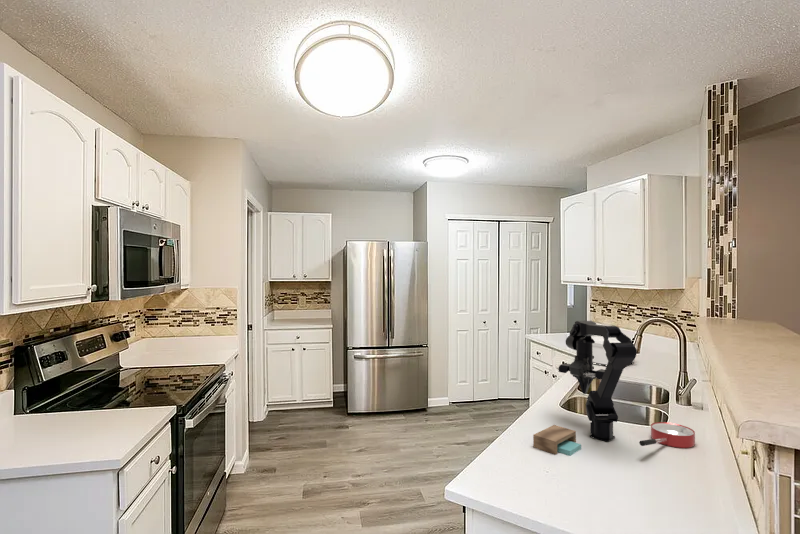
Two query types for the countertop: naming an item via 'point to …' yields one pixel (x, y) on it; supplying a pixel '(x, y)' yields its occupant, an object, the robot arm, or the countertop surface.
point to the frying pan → (670, 435)
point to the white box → (601, 350)
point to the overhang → (552, 438)
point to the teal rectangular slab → (568, 447)
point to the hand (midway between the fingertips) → (584, 393)
